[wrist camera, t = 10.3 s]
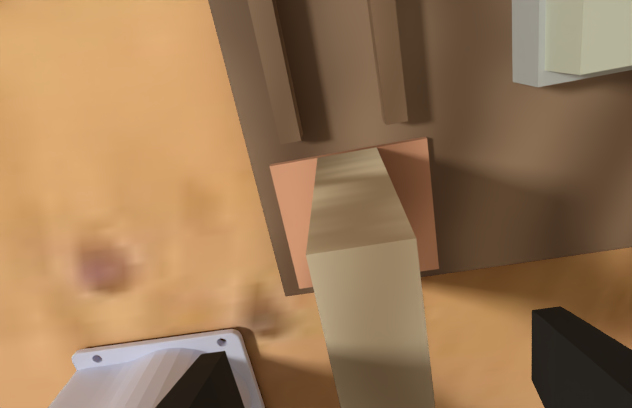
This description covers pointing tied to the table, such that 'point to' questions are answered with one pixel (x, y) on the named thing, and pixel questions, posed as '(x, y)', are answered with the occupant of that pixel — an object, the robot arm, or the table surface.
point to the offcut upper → (587, 35)
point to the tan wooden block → (368, 285)
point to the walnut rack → (427, 128)
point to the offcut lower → (537, 47)
